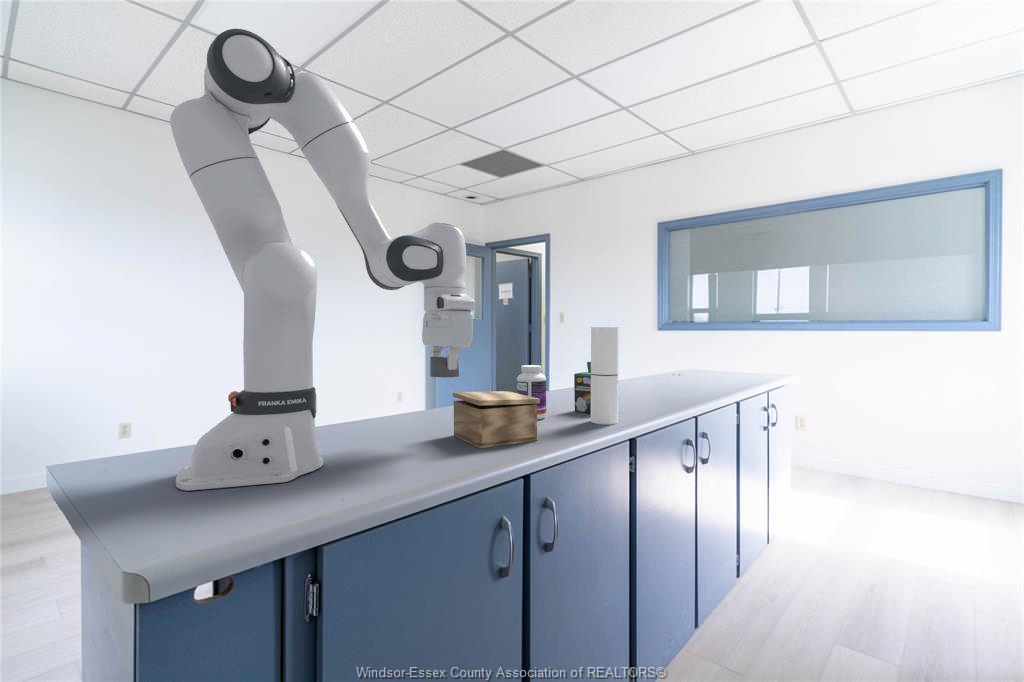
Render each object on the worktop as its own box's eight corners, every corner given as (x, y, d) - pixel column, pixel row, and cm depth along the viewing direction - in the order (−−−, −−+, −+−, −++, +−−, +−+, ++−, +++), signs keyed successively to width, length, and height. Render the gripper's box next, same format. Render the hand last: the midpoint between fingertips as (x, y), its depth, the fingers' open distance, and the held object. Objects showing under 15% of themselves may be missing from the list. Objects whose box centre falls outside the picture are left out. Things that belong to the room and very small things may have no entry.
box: (479, 448, 102) (479, 409, 101) (453, 435, 114) (453, 400, 114) (537, 440, 108) (537, 404, 108) (507, 429, 121) (507, 396, 120)
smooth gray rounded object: (435, 377, 100) (436, 358, 100) (426, 375, 105) (426, 356, 105) (463, 376, 103) (463, 357, 103) (452, 374, 108) (452, 356, 108)
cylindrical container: (585, 421, 130) (585, 327, 130) (601, 418, 135) (602, 327, 134) (607, 425, 125) (607, 327, 124) (623, 421, 130) (624, 327, 129)
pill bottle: (547, 415, 139) (547, 364, 139) (545, 421, 131) (545, 367, 131) (519, 414, 140) (519, 364, 140) (515, 420, 132) (515, 366, 132)
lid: (479, 405, 101) (479, 400, 101) (452, 396, 114) (453, 392, 114) (539, 403, 108) (539, 398, 108) (508, 395, 121) (508, 391, 121)
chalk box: (617, 411, 146) (617, 361, 145) (597, 415, 140) (598, 363, 139) (592, 407, 153) (592, 360, 152) (573, 411, 147) (573, 361, 146)
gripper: (415, 304, 111) (415, 365, 112) (448, 299, 93) (448, 372, 94) (441, 305, 114) (441, 364, 115) (478, 301, 96) (478, 371, 97)
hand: (444, 368), depth 104 cm, fingers closed on smooth gray rounded object, 6 cm apart
